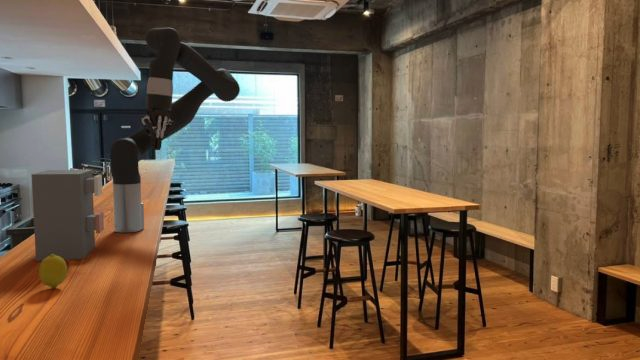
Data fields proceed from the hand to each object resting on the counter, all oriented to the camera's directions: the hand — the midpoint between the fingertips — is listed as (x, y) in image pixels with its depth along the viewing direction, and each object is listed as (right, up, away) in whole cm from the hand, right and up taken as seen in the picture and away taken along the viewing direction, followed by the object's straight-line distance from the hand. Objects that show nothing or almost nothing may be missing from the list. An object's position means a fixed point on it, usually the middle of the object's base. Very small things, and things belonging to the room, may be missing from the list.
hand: (156, 149), depth 144 cm
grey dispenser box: (-23, -31, -9) cm, 40 cm away
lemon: (-10, -34, -39) cm, 53 cm away
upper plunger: (-18, -14, -9) cm, 24 cm away
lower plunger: (-18, -25, -8) cm, 32 cm away
